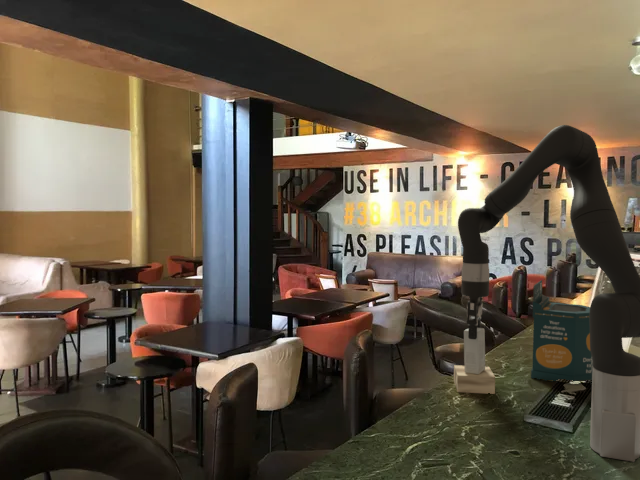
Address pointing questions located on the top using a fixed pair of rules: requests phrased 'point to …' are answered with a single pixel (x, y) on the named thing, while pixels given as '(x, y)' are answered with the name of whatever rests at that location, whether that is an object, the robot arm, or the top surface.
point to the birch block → (474, 381)
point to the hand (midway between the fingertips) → (474, 335)
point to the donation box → (560, 340)
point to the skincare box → (474, 352)
